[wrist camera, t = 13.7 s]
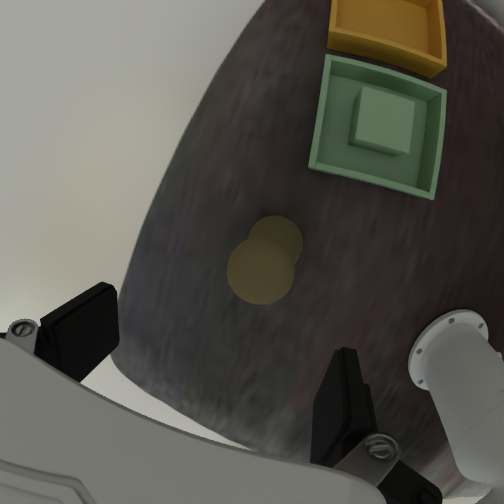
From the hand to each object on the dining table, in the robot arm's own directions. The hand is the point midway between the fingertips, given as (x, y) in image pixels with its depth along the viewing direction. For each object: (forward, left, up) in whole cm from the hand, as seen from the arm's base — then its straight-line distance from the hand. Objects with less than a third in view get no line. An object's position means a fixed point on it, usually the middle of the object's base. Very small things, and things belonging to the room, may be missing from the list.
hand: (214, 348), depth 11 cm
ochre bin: (-8, -27, -21) cm, 35 cm away
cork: (0, +1, -21) cm, 21 cm away
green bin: (-8, -13, -21) cm, 26 cm away
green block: (-8, -13, -20) cm, 26 cm away
